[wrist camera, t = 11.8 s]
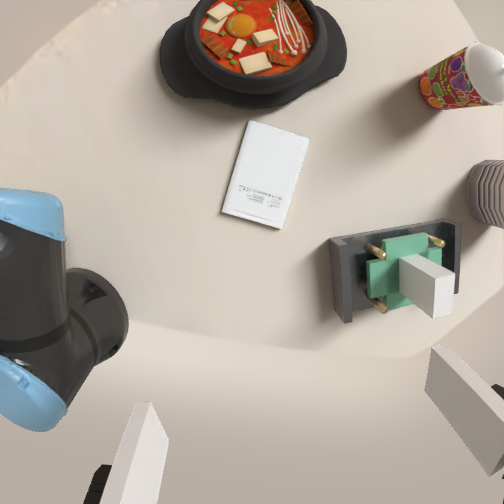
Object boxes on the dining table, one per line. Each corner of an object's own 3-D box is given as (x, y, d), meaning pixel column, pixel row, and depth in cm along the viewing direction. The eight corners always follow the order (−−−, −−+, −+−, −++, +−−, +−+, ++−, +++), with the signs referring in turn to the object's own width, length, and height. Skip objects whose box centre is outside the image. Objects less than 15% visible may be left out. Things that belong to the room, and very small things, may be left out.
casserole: (325, -6, 33) (341, -34, 25) (355, 102, 38) (380, 88, 30) (156, 15, 33) (141, -13, 25) (172, 129, 38) (157, 118, 30)
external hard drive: (307, 140, 40) (280, 227, 42) (248, 121, 39) (221, 210, 41) (310, 139, 38) (282, 229, 41) (248, 119, 37) (221, 212, 40)
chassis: (334, 310, 45) (348, 330, 39) (329, 238, 42) (344, 249, 36) (443, 283, 45) (465, 297, 39) (443, 219, 43) (468, 226, 36)
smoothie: (404, 66, 37) (489, 24, 17) (443, 67, 36) (527, 35, 17) (419, 117, 39) (514, 98, 19) (457, 114, 38) (548, 101, 19)
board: (367, 311, 42) (399, 347, 32) (365, 242, 39) (401, 264, 29) (435, 293, 42) (474, 320, 32) (437, 229, 39) (481, 245, 29)
